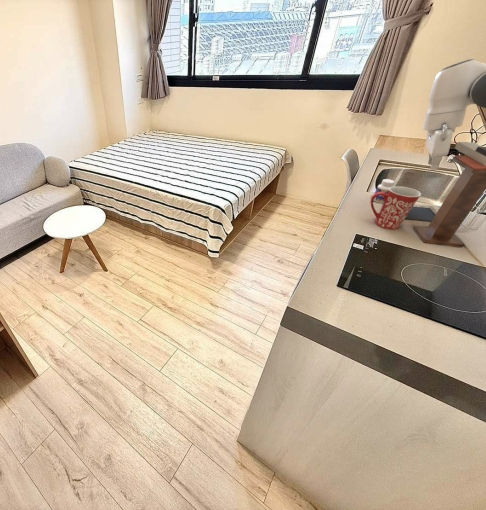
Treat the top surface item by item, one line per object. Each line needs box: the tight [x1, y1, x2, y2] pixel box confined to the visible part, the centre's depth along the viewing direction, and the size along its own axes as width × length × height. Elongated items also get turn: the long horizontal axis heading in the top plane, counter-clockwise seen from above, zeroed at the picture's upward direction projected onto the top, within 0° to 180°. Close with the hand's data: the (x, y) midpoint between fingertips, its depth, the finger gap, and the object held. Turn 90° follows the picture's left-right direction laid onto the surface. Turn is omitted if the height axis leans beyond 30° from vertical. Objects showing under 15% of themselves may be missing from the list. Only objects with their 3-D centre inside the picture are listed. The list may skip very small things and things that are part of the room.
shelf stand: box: [412, 154, 486, 248], centre depth 88 cm, size 10×12×26 cm
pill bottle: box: [373, 178, 395, 204], centre depth 117 cm, size 5×5×9 cm
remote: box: [454, 141, 486, 166], centre depth 83 cm, size 4×18×3 cm, turn 159°
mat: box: [404, 205, 436, 223], centre depth 109 cm, size 12×12×1 cm
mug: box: [370, 185, 422, 230], centre depth 101 cm, size 13×9×14 cm
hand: (432, 166), depth 93 cm, fingers open, 8 cm apart
